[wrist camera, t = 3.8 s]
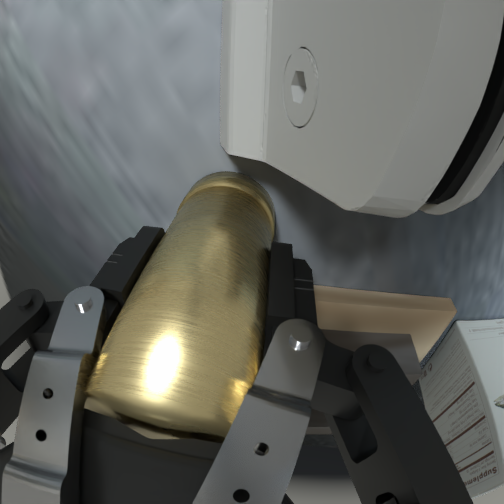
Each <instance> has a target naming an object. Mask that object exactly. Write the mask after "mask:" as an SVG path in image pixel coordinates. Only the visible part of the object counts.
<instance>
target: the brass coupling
mask: <svg viewBox="0 0 504 504" xmlns="http://www.w3.org/2000/svg"><path fill="white" fill-rule="evenodd" d="M274 225H275V210H274V205H273V202H272V200H271V198H270V196H269V194H268V193H267V191H266V190H265V189H264V188H263V187H262V186H261V184H259V183H258V182H257V181H255V180H254V179H252V178H250V177H248V176H246V175H244V174H240V173H236V172H226V171H225V172H217V173H213V174H210V175H207V176H205V177H203V178H202V179H200V180H199V181H198V182H197V183H196V184H195V185H193V187H192V188H191V189H190V191H189V192H188V194H187V195H186V197H185V198H184V200H183V201H182V203H181V204H180V206H179V208H178V211H177V214H176V217H175V218H174V220H173V221H172V223H171V224H170V226H169V228H168V229H167V231H166V233H165V234H164V236H163V237H162V239H161V241H160V242H159V244H158V246H157V247H156V249H155V251H154V252H153V254H152V256H151V258H150V259H149V261H148V263H147V264H146V266H145V268H144V270H143V271H142V273H141V275H140V277H139V278H138V280H137V282H136V284H135V286H134V287H133V289H132V291H131V293H130V295H129V297H128V298H127V300H126V302H125V304H124V306H123V308H122V310H121V311H120V313H119V315H118V317H117V319H116V321H115V323H114V325H113V327H112V329H111V331H110V333H109V335H108V337H107V339H106V341H105V343H104V345H103V347H102V349H101V351H100V353H99V355H98V357H97V359H96V362H95V364H94V366H93V368H92V371H91V373H90V376H89V378H88V381H87V384H86V387H85V390H84V393H85V395H86V396H87V397H88V398H87V400H86V402H85V405H84V408H86V409H89V410H91V411H94V412H97V413H100V414H102V415H105V416H108V417H111V418H114V419H116V420H118V421H119V422H121V423H123V424H124V425H126V426H128V427H129V428H131V429H133V430H134V431H136V432H138V433H140V434H141V435H143V436H145V437H147V438H150V439H198V440H203V441H209V442H215V443H222V444H223V442H224V440H225V438H226V436H227V434H228V432H229V430H230V427H231V425H232V423H233V421H234V419H235V417H236V415H237V413H238V410H239V408H240V406H241V404H242V402H243V399H244V397H245V395H246V393H247V391H248V390H249V388H251V387H252V386H253V384H254V381H255V379H256V377H257V374H258V372H259V370H260V367H261V365H262V363H263V360H264V347H265V320H266V306H267V291H268V276H269V260H270V248H271V243H272V242H273V238H274ZM254 452H255V451H254Z"/></svg>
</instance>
